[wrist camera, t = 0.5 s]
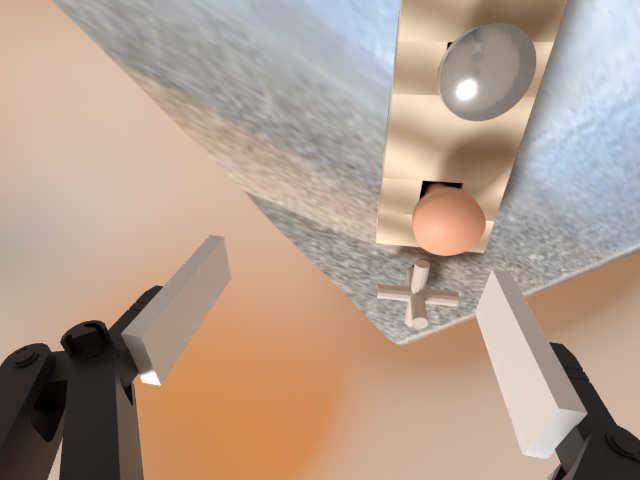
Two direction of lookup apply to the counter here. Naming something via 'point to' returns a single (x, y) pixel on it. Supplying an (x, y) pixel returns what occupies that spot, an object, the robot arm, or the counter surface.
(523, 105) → the panel housing
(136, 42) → the counter surface
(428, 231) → the terracotta plunger
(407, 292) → the pipe connector
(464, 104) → the grey shiny disc
